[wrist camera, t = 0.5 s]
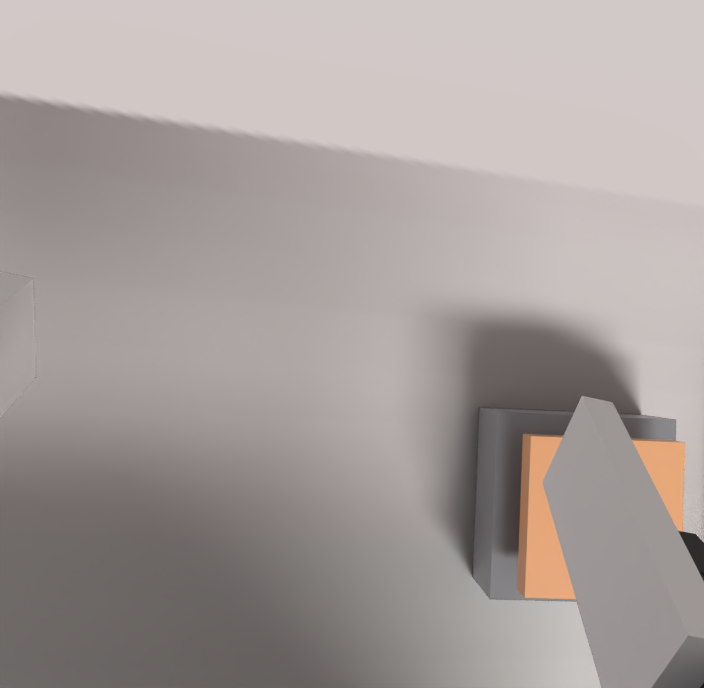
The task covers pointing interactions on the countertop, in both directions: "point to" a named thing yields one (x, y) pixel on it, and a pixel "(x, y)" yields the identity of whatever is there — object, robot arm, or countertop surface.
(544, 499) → the button
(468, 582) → the countertop surface
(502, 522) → the button housing
